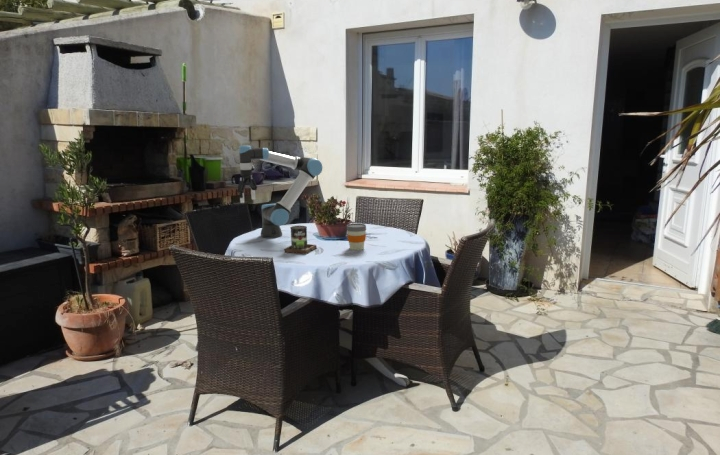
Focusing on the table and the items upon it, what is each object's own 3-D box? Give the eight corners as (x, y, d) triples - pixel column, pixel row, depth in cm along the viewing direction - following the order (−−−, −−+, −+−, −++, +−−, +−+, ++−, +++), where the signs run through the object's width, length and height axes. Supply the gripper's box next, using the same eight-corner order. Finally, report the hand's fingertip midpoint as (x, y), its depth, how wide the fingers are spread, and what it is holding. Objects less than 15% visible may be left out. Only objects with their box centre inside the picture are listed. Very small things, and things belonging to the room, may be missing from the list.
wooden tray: (295, 246, 343) (295, 243, 343) (316, 248, 338) (316, 244, 337) (284, 252, 330) (284, 248, 329) (305, 254, 324) (305, 250, 324)
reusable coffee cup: (349, 251, 330) (349, 228, 326) (344, 246, 341) (344, 224, 338) (368, 249, 333) (368, 226, 330) (363, 245, 345) (363, 222, 342)
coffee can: (308, 250, 332) (308, 228, 329) (292, 251, 329) (291, 229, 326) (306, 246, 341) (305, 224, 338) (290, 247, 339) (289, 226, 336)
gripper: (251, 167, 358) (253, 198, 363) (230, 171, 336) (232, 203, 340) (261, 167, 356) (262, 198, 360) (240, 171, 333) (242, 204, 337)
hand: (248, 201), depth 350 cm, fingers open, 13 cm apart
